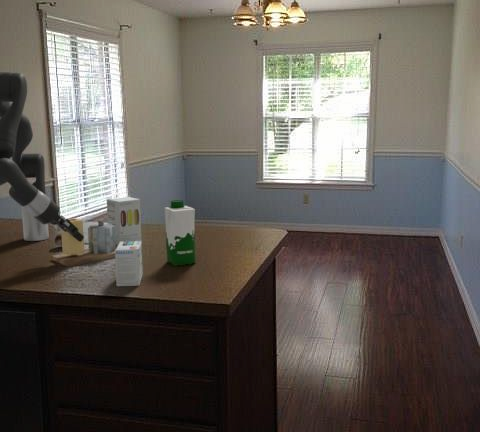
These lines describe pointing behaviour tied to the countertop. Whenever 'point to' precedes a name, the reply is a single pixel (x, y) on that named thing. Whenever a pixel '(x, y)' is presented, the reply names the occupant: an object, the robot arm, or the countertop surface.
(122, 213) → the supplement box
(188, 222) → the milk carton
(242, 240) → the countertop surface
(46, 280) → the countertop surface
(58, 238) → the mushroom
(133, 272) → the light bulb box
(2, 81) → the robot arm
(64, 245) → the yellow rectangular block
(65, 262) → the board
